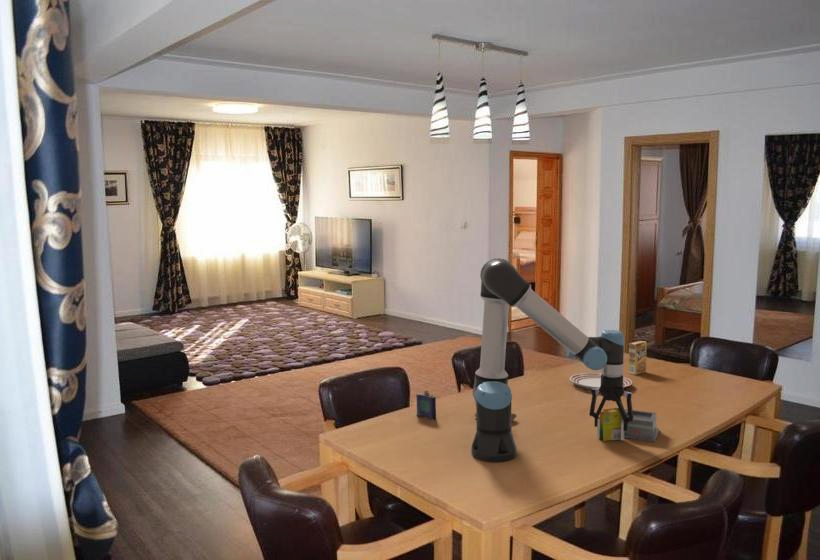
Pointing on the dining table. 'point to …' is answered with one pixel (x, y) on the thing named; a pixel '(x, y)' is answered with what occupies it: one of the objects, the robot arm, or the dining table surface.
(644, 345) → the candy box
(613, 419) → the crayon box
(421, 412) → the flask
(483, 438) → the robot arm
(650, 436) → the stand
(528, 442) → the dining table surface
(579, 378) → the dinner plate
